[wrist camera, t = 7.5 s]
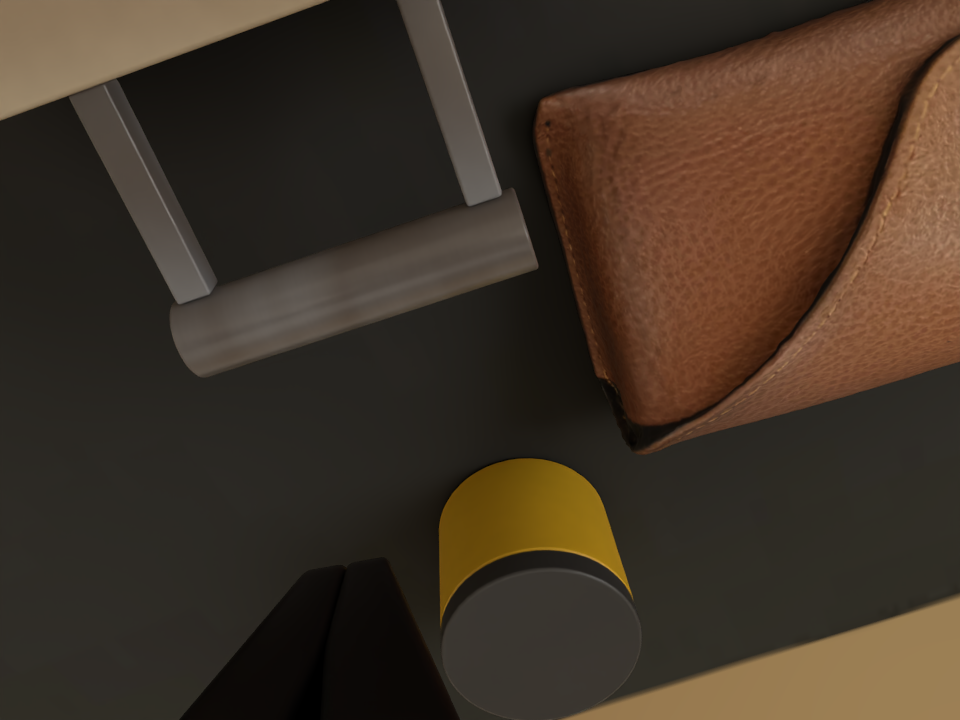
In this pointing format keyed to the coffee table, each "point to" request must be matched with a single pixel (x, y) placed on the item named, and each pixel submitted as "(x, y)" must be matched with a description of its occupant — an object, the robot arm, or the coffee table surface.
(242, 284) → the drawer
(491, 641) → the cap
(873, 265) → the sunglasses case
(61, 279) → the coffee table surface
